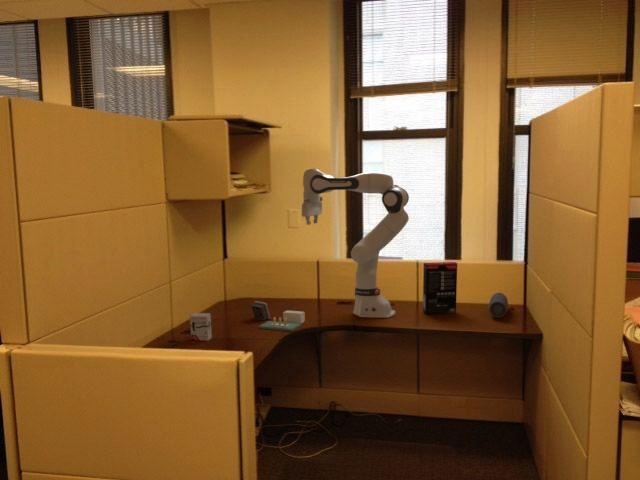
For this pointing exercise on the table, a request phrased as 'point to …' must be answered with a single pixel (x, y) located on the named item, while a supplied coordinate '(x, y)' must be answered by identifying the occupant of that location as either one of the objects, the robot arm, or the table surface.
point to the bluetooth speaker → (498, 305)
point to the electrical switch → (260, 310)
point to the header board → (280, 325)
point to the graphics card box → (439, 287)
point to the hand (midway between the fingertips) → (312, 223)
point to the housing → (294, 316)
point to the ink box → (200, 326)
